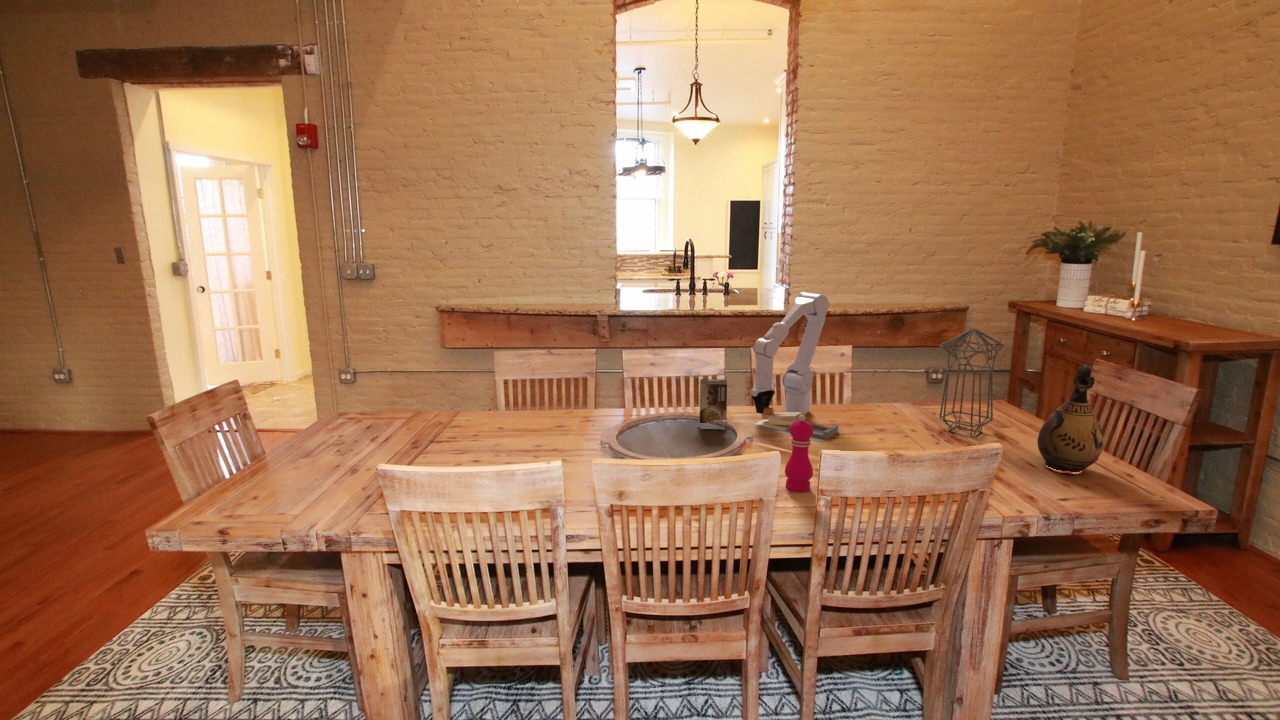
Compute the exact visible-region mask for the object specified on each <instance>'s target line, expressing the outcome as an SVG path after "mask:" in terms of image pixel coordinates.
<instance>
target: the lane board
mask: <svg viewBox="0 0 1280 720" xmlns="http://www.w3.org/2000/svg"><path fill="white" fill-rule="evenodd" d="M809 423H810V424H811V425H812V427H813V435H812V437H811V438H810V440H811V441H813V442H817V443H824V442H826V441H828V440H829V439H830V438H832V437H833V436H835V435H836V434H838V433H840V432H841V431H842V429H840V428H839V424H834V425H832V426H827V425H823V424H817V423H812V422H809ZM790 426H791V425H769V420H763V419H762V418H761V419H760V420H758V421H756V422H754V423H752V424H750V425H749V427H752V428H757V429H760V430H765V431H768V432H773V433H777V434H778V433H779V434H782V435H787V436H791V434H790Z"/></svg>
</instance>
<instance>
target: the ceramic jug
mask: <svg viewBox="0 0 1280 720" xmlns="http://www.w3.org/2000/svg"><path fill="white" fill-rule="evenodd" d="M1092 370H1093V367H1092V366H1090V365H1088V364H1084V365H1081V366H1080V367H1079V368H1078V370H1077V373H1076V374H1075V375H1074V377H1073V383H1074V386H1073V390H1072V391H1073V392H1072V394H1071V396H1070V397H1069V399H1068V400H1066V401H1065V402H1063V403H1062V404H1061V405H1060V406H1058V408H1057V409H1055V410H1054V412H1052V413H1051V414H1050V415H1049V416H1048V417H1047V418H1046V419H1045V420H1044V423H1043V425H1041V426H1042V427H1040V430H1039V432H1038V435H1037V436H1038V437H1037V447H1038V451H1039V453H1040V455H1041V457H1042V458H1043V460H1044V466H1045V465H1047V466H1048V467H1051V468H1053V469H1056V470H1061V471H1070V472H1080V471H1083V470H1084V471H1085V470H1086V469H1087V468H1089V467H1090V466H1092V465H1093V464H1094V463H1096V462H1097V461H1098V460H1099V458H1100V456H1101V454H1102V452H1103V448H1104V439H1103V438H1104V435H1103V432H1102V431H1103V430H1102V428H1101V424H1100V423H1099V420H1098V419H1097V417H1096V414H1095V411H1094V410H1093V409H1092V407H1091V406H1090V402H1089V400H1088V394H1087V393H1088V390H1091V389H1093V387H1094V384H1095V381H1096V380H1095V377H1094V376H1091V374H1092Z"/></svg>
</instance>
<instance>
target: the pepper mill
mask: <svg viewBox="0 0 1280 720" xmlns="http://www.w3.org/2000/svg"><path fill="white" fill-rule="evenodd" d="M810 423H811V422H809V421H807V420H806V415H800V416H799V420H797V421H795V422H793V423H792V424H791V426H790V434H791V435H790V436H791V438H790V444H791V445H792V446H791V447H792V449H791V454H790V457H788V458H789V459H788V461H787V462H786V464H785V469H784V474H785V476H786V480H785V487H786V489H788V490H789V491H791V492H795V493H806V492H808V491H810V489H811V481H810V480H811V479H812V477H813V476H814V471H813V470H814V469H813V465H812V463H811V459H810V457H809V448H810V447H809V446H811V441H812V440H810V438H811V437H812V435H813V427H812V425H811V424H810Z"/></svg>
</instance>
